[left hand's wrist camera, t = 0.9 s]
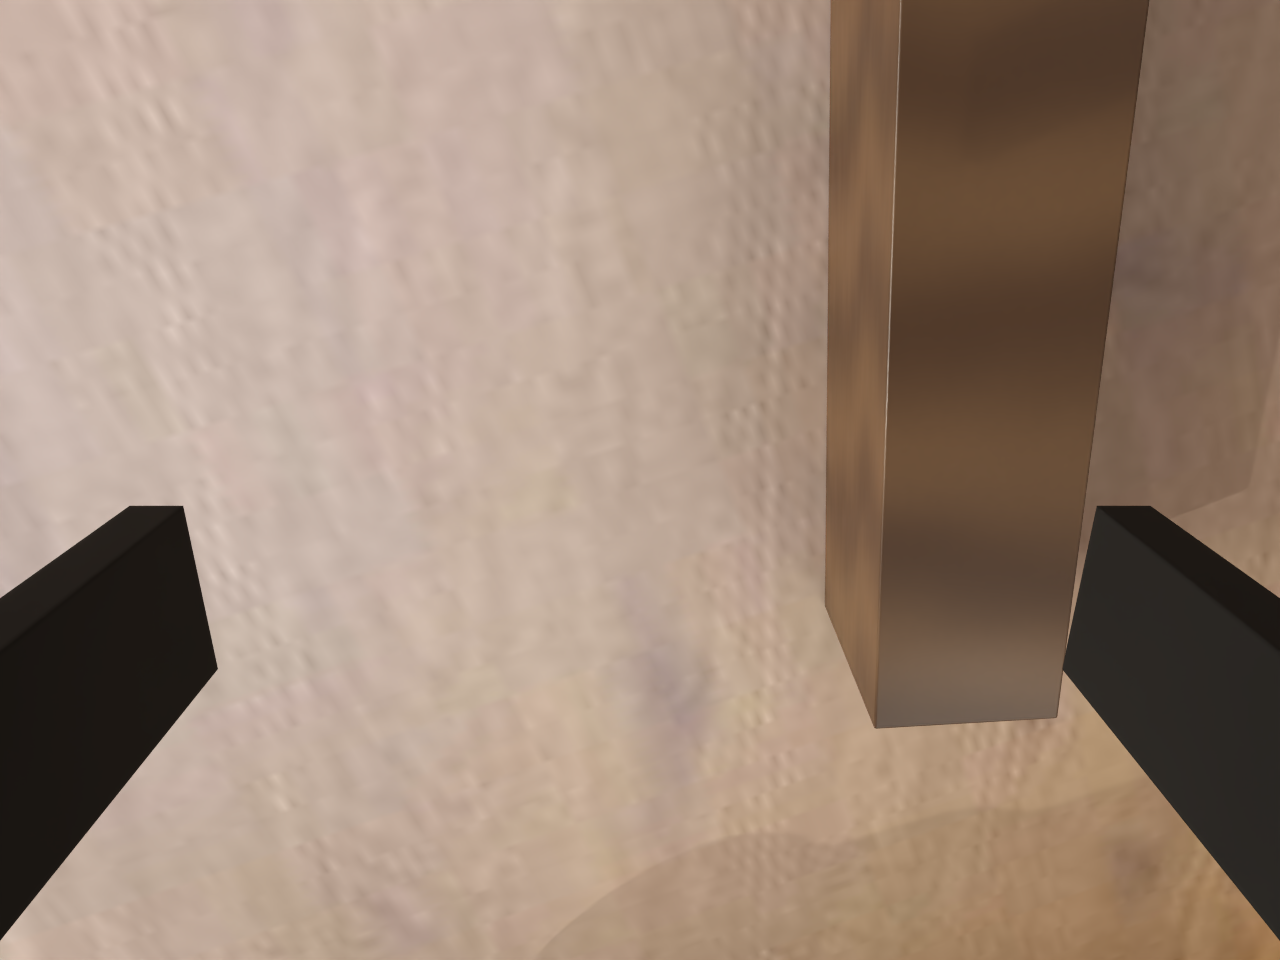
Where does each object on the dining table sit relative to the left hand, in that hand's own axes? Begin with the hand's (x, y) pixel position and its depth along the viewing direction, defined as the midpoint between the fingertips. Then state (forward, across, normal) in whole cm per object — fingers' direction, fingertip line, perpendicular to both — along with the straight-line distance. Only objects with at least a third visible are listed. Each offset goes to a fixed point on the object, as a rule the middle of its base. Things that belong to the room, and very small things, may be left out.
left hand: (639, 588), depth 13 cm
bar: (+20, -9, -15) cm, 26 cm away
